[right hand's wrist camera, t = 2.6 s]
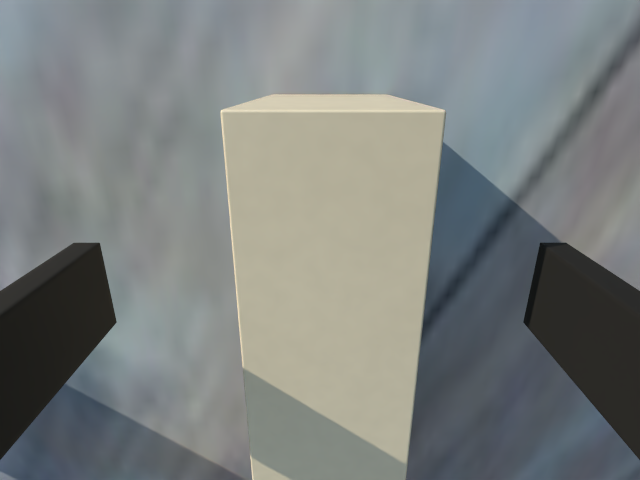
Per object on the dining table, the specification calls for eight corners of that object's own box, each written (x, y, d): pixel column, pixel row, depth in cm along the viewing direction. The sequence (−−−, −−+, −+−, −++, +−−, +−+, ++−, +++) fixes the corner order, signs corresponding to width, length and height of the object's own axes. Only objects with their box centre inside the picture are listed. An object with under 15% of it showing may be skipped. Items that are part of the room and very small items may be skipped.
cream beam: (388, 94, 17) (446, 109, 9) (363, 511, 27) (380, 707, 19) (270, 94, 17) (219, 109, 9) (288, 510, 27) (271, 705, 19)
